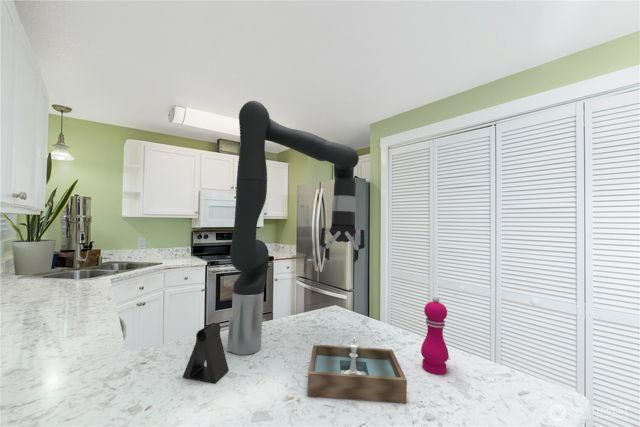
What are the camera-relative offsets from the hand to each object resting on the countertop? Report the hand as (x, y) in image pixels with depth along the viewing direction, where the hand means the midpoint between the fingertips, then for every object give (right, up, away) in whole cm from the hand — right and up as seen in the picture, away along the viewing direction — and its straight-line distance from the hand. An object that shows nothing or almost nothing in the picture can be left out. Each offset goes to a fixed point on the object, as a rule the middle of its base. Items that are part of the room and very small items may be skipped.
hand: (341, 260), depth 92 cm
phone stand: (-35, -25, -20) cm, 48 cm away
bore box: (+2, -27, -20) cm, 34 cm away
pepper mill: (+25, -28, -12) cm, 40 cm away
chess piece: (+1, -27, -19) cm, 33 cm away
